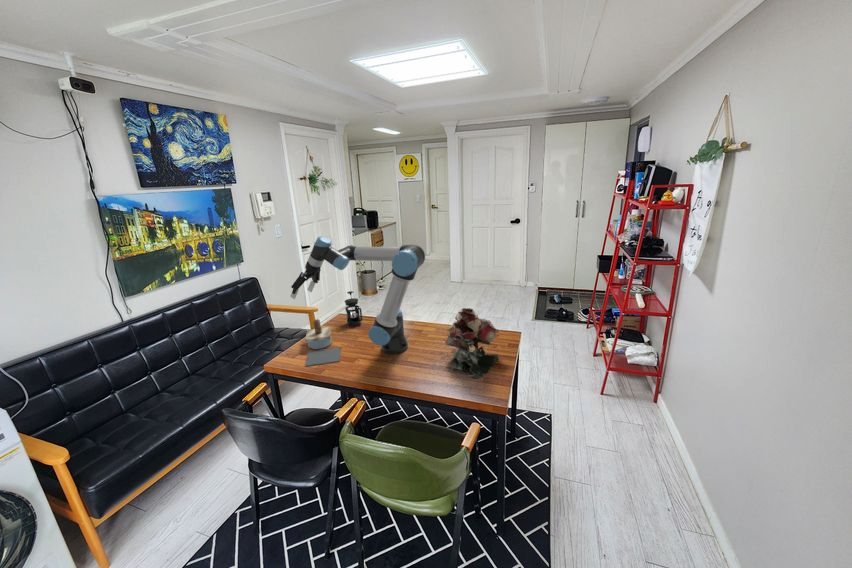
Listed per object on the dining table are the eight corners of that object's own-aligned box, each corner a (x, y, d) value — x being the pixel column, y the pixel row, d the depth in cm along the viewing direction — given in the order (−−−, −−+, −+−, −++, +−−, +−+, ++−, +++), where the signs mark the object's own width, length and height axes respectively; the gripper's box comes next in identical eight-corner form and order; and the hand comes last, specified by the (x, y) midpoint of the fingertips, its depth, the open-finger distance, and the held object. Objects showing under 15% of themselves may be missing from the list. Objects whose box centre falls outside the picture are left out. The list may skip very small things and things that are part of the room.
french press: (343, 325, 238) (339, 293, 231) (351, 320, 246) (347, 289, 239) (358, 327, 233) (354, 294, 226) (366, 322, 242) (362, 290, 235)
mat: (340, 348, 207) (340, 347, 207) (339, 361, 192) (339, 360, 192) (308, 352, 204) (308, 351, 204) (305, 366, 189) (305, 365, 189)
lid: (331, 328, 219) (329, 314, 217) (330, 338, 206) (328, 323, 203) (307, 332, 217) (305, 317, 214) (305, 342, 204) (302, 326, 201)
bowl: (331, 338, 221) (330, 329, 219) (330, 347, 209) (329, 338, 207) (310, 341, 218) (308, 332, 216) (308, 350, 206) (306, 341, 204)
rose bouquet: (502, 353, 191) (503, 301, 182) (482, 381, 167) (481, 323, 158) (459, 344, 204) (458, 295, 195) (434, 369, 180) (431, 314, 171)
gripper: (323, 255, 199) (311, 284, 208) (292, 264, 177) (279, 296, 185) (334, 262, 198) (320, 291, 206) (303, 272, 175) (290, 305, 184)
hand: (301, 294), depth 196 cm, fingers open, 13 cm apart
